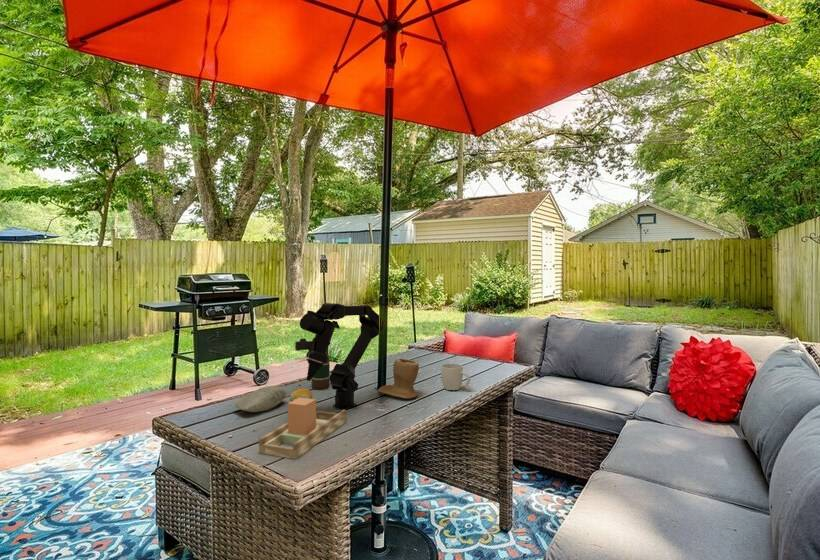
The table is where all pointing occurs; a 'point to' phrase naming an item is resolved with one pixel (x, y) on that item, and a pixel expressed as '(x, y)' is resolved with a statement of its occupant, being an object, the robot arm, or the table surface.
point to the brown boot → (402, 379)
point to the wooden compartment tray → (300, 436)
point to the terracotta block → (302, 416)
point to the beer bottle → (322, 377)
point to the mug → (453, 376)
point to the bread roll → (301, 394)
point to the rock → (262, 399)
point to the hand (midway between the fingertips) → (308, 380)
